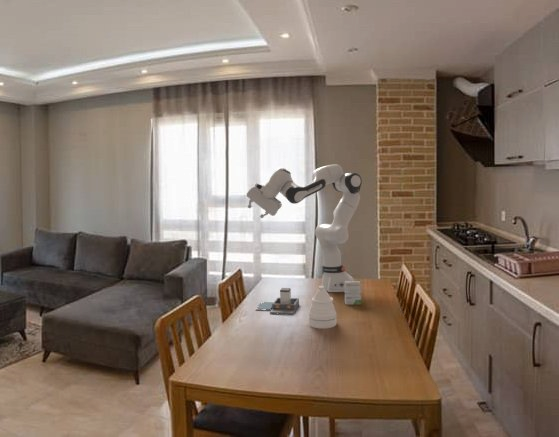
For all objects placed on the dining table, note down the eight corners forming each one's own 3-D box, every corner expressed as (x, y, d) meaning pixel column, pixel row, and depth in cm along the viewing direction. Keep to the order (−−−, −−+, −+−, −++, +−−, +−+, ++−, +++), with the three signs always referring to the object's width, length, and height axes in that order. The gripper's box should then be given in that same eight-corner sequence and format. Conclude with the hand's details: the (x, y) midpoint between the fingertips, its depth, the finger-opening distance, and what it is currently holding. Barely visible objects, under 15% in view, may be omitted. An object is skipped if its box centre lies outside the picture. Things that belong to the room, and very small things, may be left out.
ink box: (345, 304, 223) (344, 282, 222) (344, 301, 228) (344, 280, 227) (361, 304, 222) (361, 282, 221) (360, 301, 227) (360, 280, 226)
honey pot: (335, 329, 189) (334, 289, 187) (307, 327, 191) (305, 288, 189) (337, 319, 201) (336, 282, 199) (310, 318, 204) (309, 281, 202)
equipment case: (299, 304, 226) (298, 298, 225) (292, 314, 210) (292, 307, 209) (277, 304, 228) (277, 297, 228) (269, 313, 212) (269, 307, 212)
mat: (275, 303, 229) (275, 302, 229) (270, 310, 217) (270, 309, 217) (261, 303, 231) (261, 301, 231) (255, 310, 219) (255, 308, 219)
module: (291, 306, 223) (290, 288, 222) (289, 309, 219) (288, 290, 218) (282, 306, 224) (282, 287, 223) (280, 308, 220) (280, 290, 219)
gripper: (284, 204, 239) (270, 223, 240) (257, 183, 244) (243, 202, 245) (281, 203, 233) (267, 223, 234) (253, 181, 238) (239, 201, 239)
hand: (254, 212), depth 240 cm, fingers open, 8 cm apart
